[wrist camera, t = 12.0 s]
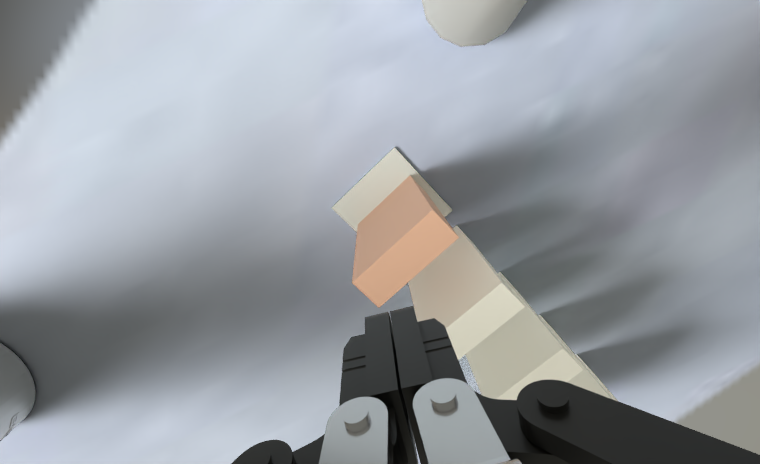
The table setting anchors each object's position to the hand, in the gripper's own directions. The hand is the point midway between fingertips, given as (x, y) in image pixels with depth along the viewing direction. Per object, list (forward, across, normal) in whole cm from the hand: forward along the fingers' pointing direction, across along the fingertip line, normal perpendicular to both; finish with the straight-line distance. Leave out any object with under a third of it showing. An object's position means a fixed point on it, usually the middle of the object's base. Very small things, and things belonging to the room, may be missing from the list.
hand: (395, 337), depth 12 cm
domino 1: (+16, -1, 0) cm, 16 cm away
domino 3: (+16, -6, +9) cm, 20 cm away
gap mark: (+16, -1, 0) cm, 16 cm away
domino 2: (+16, -4, +4) cm, 17 cm away
